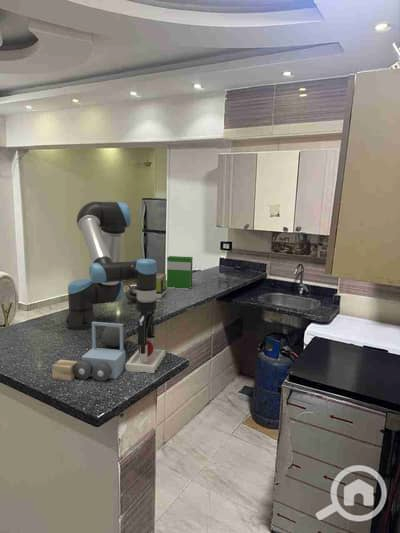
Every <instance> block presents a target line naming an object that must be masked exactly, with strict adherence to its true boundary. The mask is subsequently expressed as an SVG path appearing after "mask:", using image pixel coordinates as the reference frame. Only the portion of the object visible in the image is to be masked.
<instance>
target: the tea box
mask: <svg viewBox="0 0 400 533" xmlns="http://www.w3.org/2000/svg"><path fill="white" fill-rule="evenodd" d="M165 293H166V294H167V273H156V298H161V299H162V298H163V297H164V296H165V295H166V294H165ZM164 294H165V295H164ZM163 295H164V296H163ZM162 296H163V297H162Z"/></svg>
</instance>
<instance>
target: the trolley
mask: <svg viewBox="0 0 400 533" xmlns="http://www.w3.org/2000/svg"><path fill="white" fill-rule="evenodd" d="M95 325H96V326H98V327H99V326H100V327H107V326H109V327H120V345H119V349H111V348H99V347H97V341H96V340H97V339H96V338H97V337H96V336H97V335H96V333H97V332H96V331H97V330H96V326H95ZM123 328H124V323H115V322H99V321H97V322H92V328H91V340H92V341H91V345H92V346H91V348H90V349H89V350H88V351H87V352H86V353H85V354H83V355H82V356H81V361H78V364H77V365H76V366H75V367H74V374H75V375H76V377H75V378H77V379H80V380H87V379H88V378H89V377H93V378H94V379H95V380H96V381H98V382H105V381H107V380H108V379H112V378H114V380H117V379H116V378H119V376H120V375H121V374H122V373H123V372H124V370H126V366H125V364H126V350H125V349H124V342H123Z"/></svg>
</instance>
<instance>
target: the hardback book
mask: <svg viewBox="0 0 400 533" xmlns="http://www.w3.org/2000/svg"><path fill="white" fill-rule="evenodd" d="M193 258H194V257H193V256H180V255H179V256H177V255H176V256H175V255H169V256H167V258H166V261H167V262H166V263H167V264H166V266H167V267H166V268H167V270H166V288H167V287H175V288H188V289H190V290H191V288H190V287H192V288H193Z"/></svg>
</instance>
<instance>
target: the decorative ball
mask: <svg viewBox="0 0 400 533" xmlns="http://www.w3.org/2000/svg"><path fill="white" fill-rule="evenodd" d="M126 336H127V332H126V329H125V327H123V343H124V342H125V340H126V338H127V337H126ZM102 341H103V342H104V343H105V344H106V345H107V347H108V346H109V347H111V348H112V347H113V348H117V347H120V327H109V326H105V328H104V330H103V331H102Z"/></svg>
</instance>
